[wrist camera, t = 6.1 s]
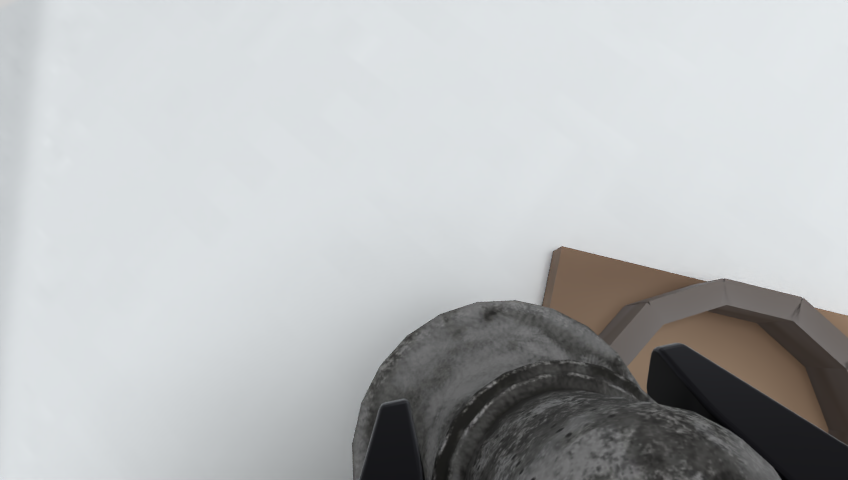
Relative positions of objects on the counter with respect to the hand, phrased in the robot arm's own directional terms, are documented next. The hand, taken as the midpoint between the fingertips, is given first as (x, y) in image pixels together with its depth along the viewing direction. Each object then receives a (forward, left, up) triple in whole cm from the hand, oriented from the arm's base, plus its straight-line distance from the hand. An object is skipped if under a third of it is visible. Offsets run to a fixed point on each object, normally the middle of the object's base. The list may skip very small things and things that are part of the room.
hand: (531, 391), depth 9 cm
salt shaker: (-1, 0, -7) cm, 7 cm away
